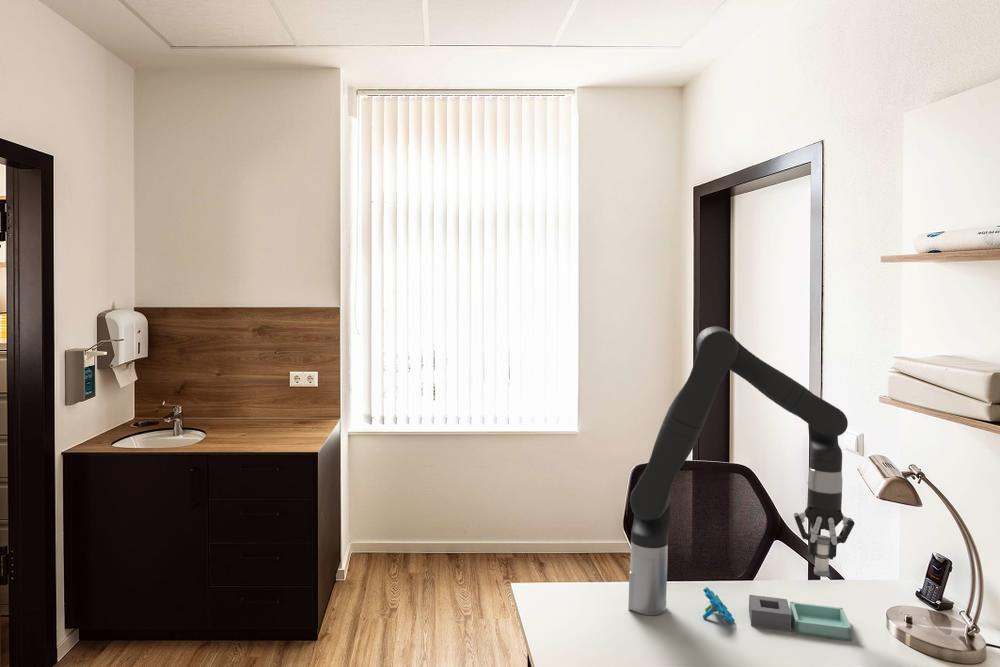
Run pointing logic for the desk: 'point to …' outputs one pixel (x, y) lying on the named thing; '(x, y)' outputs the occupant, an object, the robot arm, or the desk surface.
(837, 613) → the parts tray
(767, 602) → the block
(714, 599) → the blue plastic angular piece
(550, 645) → the desk surface
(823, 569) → the cylinder
